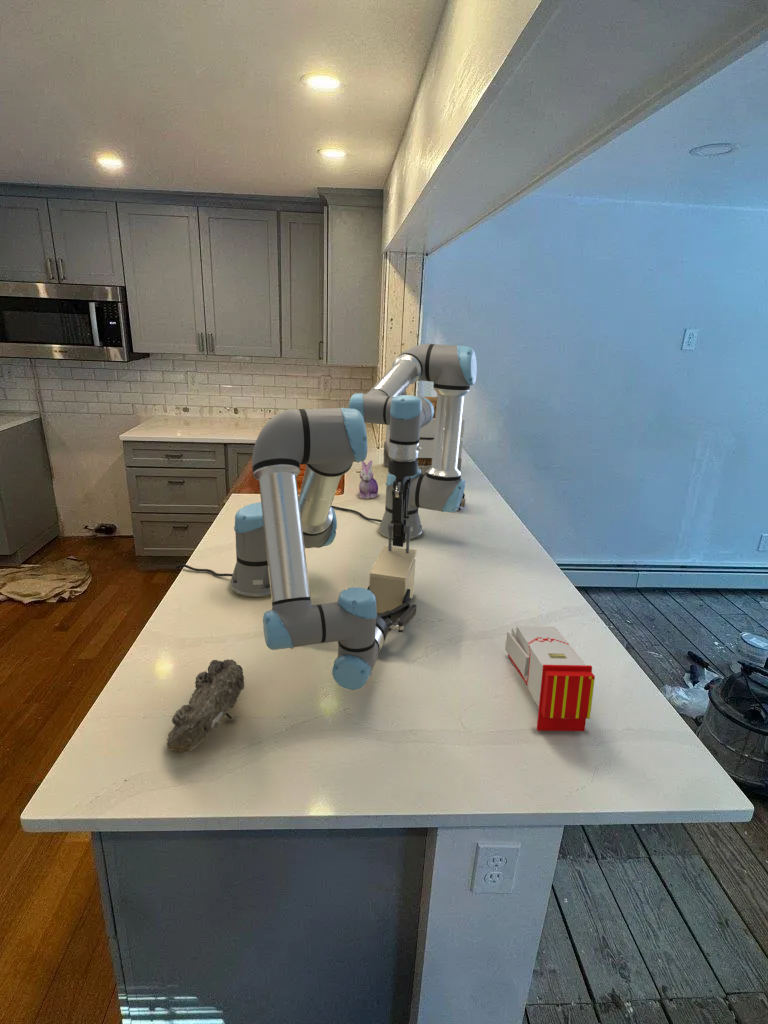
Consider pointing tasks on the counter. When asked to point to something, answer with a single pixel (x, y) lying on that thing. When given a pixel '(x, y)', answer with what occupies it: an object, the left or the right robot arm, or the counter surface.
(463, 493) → the figurine character
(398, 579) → the lid
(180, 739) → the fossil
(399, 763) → the counter surface
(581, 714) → the toy
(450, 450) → the right robot arm
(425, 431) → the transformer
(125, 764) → the counter surface
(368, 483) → the figurine
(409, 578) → the chest
